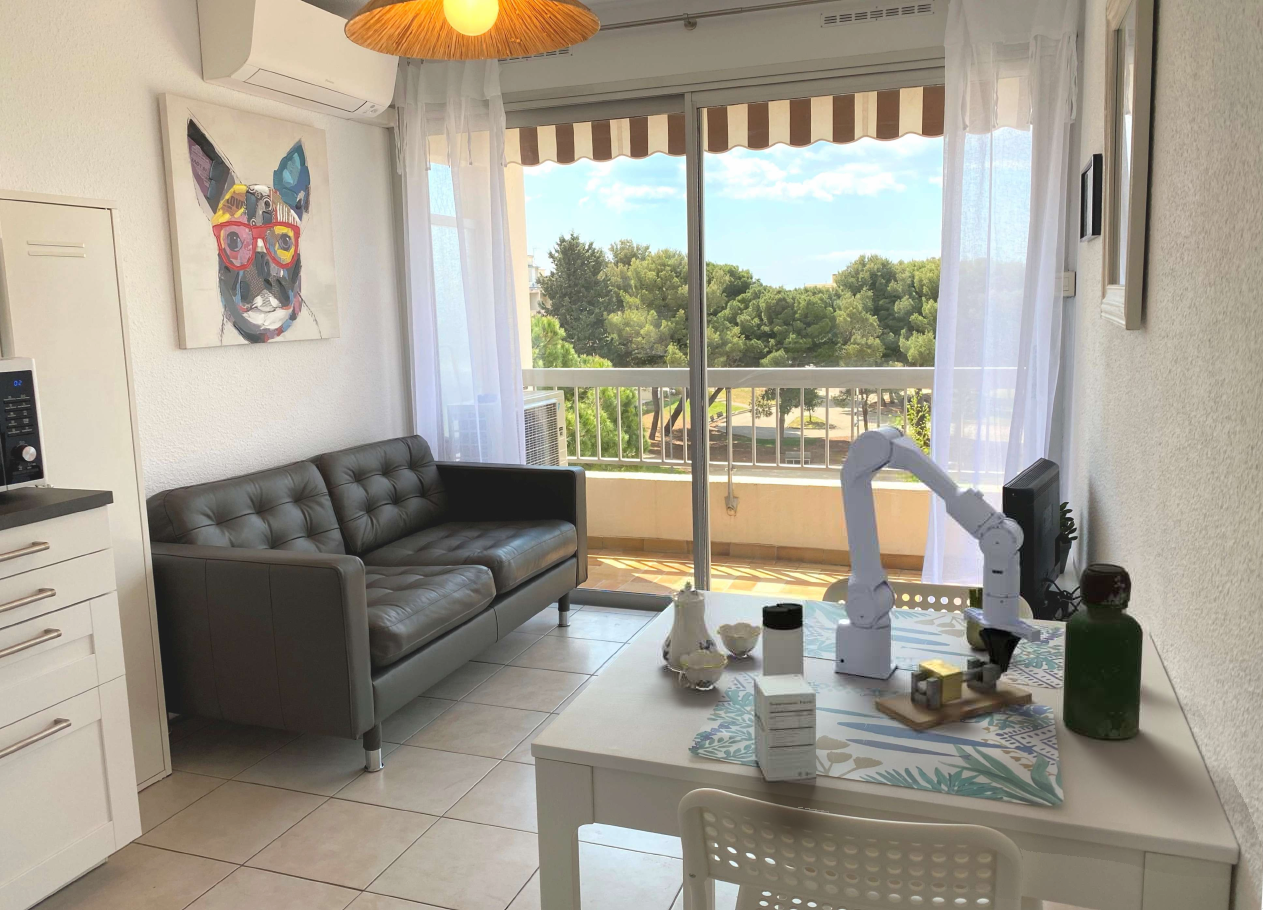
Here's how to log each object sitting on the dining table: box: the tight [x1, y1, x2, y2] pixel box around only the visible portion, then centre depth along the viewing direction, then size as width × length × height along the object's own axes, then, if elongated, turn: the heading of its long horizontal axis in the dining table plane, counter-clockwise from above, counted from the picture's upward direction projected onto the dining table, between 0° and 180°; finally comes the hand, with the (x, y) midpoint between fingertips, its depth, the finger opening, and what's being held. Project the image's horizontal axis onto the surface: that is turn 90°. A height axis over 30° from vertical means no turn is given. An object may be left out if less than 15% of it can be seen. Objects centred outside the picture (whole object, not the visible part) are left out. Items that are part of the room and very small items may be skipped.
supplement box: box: [753, 674, 817, 782], centre depth 134 cm, size 7×7×13 cm
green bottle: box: [1062, 563, 1144, 740], centre depth 144 cm, size 10×10×25 cm
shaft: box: [917, 658, 1002, 693], centre depth 156 cm, size 16×4×4 cm, turn 115°
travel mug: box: [761, 602, 805, 678], centre depth 148 cm, size 6×7×20 cm
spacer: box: [918, 658, 964, 704], centre depth 154 cm, size 4×6×5 cm
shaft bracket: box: [874, 657, 1033, 731], centre depth 155 cm, size 24×10×6 cm, turn 115°
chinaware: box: [661, 580, 763, 690], centre depth 175 cm, size 28×17×17 cm, turn 158°
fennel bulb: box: [965, 586, 987, 651], centre depth 180 cm, size 6×5×12 cm
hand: (999, 671), depth 159 cm, fingers closed, pressing on shaft
